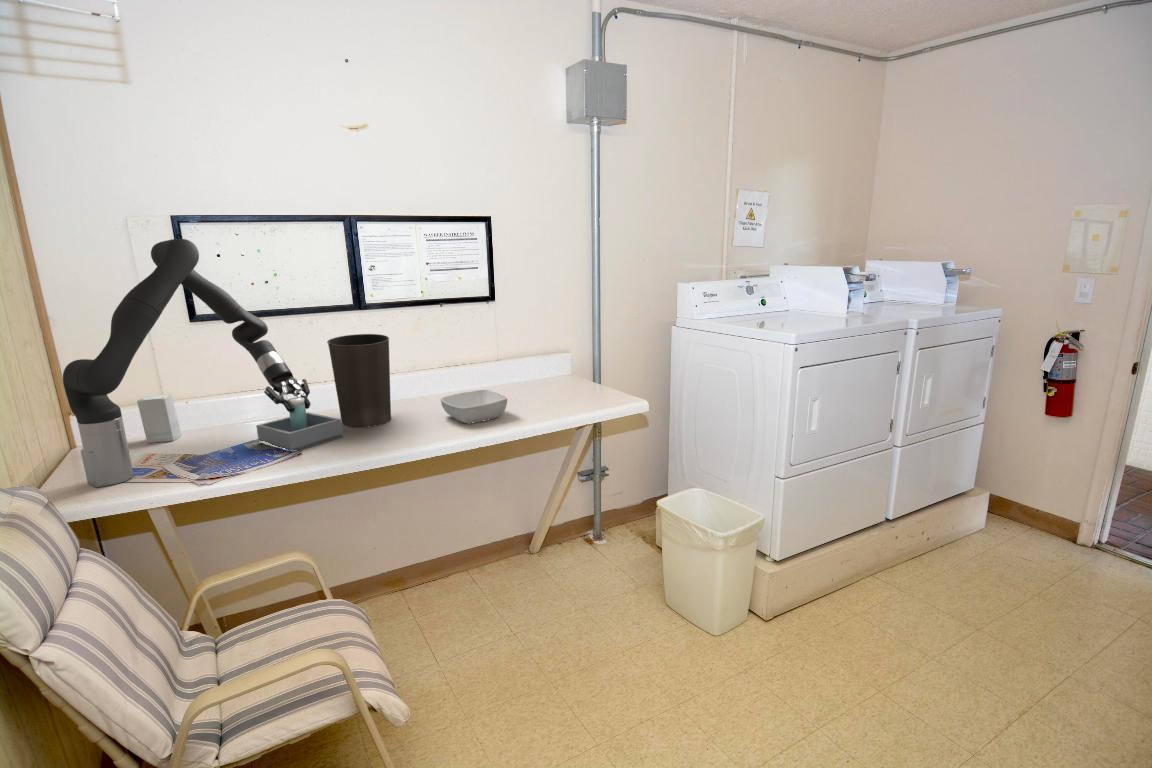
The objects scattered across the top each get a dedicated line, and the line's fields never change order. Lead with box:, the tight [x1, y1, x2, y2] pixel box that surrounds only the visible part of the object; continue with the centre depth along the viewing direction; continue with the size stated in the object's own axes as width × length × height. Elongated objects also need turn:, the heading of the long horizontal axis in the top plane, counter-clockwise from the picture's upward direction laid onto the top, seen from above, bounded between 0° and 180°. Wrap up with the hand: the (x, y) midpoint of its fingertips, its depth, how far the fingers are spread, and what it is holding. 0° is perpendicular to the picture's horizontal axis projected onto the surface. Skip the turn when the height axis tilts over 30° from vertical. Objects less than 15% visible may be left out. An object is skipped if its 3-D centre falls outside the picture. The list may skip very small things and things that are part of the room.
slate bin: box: [256, 411, 343, 451], centre depth 188 cm, size 18×18×6 cm
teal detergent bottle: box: [288, 396, 308, 432], centre depth 187 cm, size 5×5×11 cm
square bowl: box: [439, 389, 508, 424], centre depth 210 cm, size 20×20×8 cm
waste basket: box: [327, 333, 392, 428], centre depth 205 cm, size 27×20×30 cm
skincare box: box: [136, 393, 182, 444], centre depth 190 cm, size 8×6×15 cm
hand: (300, 409), depth 185 cm, fingers closed on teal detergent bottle, 4 cm apart
